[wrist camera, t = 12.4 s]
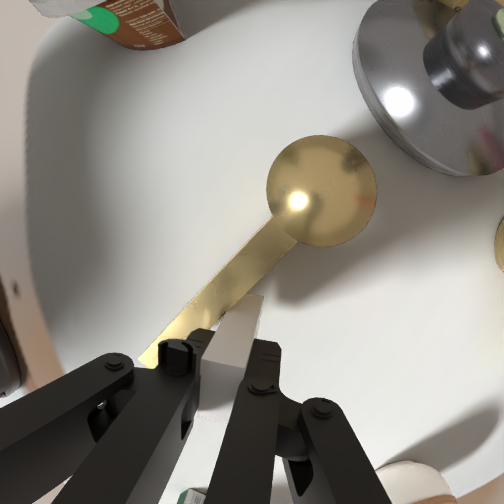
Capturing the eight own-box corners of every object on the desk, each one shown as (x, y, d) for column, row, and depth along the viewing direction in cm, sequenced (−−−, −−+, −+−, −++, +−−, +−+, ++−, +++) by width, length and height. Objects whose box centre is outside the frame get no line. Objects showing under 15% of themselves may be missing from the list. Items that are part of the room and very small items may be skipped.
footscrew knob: (309, 136, 14) (319, 113, 10) (366, 192, 15) (397, 192, 10) (151, 308, 17) (116, 339, 13) (201, 353, 18) (179, 395, 13)
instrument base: (344, 145, 15) (406, 96, 6) (351, -45, 11) (367, -115, 2) (540, 216, 13) (614, 232, 5) (524, 39, 9) (572, 13, 1)
